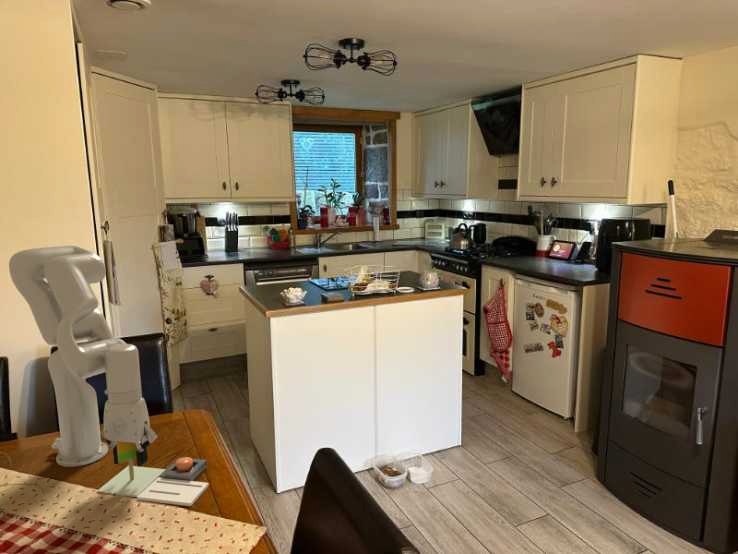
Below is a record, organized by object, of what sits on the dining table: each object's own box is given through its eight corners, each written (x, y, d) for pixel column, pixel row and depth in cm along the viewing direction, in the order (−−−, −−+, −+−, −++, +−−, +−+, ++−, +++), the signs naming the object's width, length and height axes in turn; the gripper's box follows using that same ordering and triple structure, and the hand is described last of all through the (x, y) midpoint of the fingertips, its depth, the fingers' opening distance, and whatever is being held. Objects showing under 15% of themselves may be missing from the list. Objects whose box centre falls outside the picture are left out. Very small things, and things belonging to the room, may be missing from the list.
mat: (97, 493, 125) (96, 490, 125) (128, 467, 137) (128, 465, 136) (137, 497, 123) (137, 495, 123) (166, 471, 134) (165, 469, 134)
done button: (173, 471, 132) (172, 464, 131) (181, 463, 136) (181, 456, 135) (187, 472, 131) (187, 465, 131) (195, 464, 135) (195, 457, 134)
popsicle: (121, 484, 127) (116, 428, 125) (119, 481, 129) (114, 425, 126) (144, 477, 131) (139, 422, 128) (142, 474, 132) (138, 419, 130)
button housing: (162, 480, 130) (161, 473, 130) (179, 464, 138) (179, 457, 138) (191, 483, 129) (190, 476, 128) (206, 467, 137) (206, 460, 136)
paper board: (137, 499, 122) (136, 496, 122) (158, 480, 130) (158, 477, 130) (190, 506, 119) (190, 502, 119) (208, 485, 128) (208, 482, 128)
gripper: (83, 398, 124) (90, 467, 127) (147, 403, 121) (152, 474, 124) (104, 386, 131) (110, 452, 134) (165, 391, 128) (170, 458, 131)
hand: (130, 462), depth 129 cm, fingers open, 5 cm apart
